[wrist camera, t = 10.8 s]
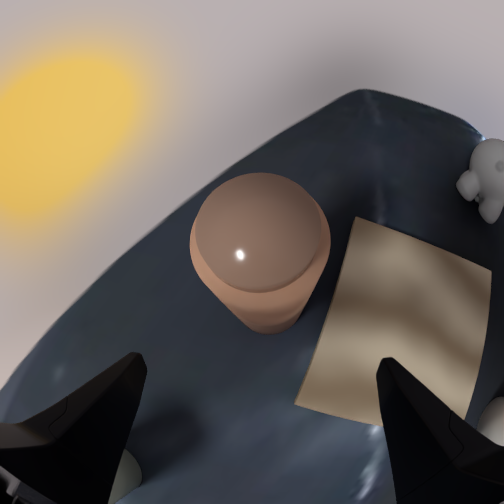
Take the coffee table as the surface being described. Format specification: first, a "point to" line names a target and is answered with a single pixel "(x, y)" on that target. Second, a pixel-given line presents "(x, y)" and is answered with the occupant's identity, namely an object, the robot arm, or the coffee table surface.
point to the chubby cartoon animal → (485, 179)
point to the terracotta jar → (261, 249)
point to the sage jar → (125, 477)
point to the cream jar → (493, 421)
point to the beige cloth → (398, 324)
